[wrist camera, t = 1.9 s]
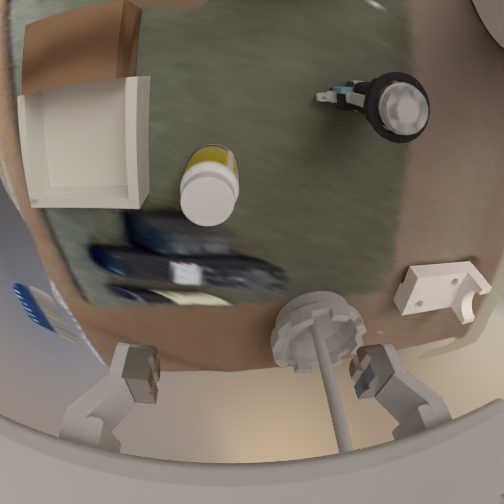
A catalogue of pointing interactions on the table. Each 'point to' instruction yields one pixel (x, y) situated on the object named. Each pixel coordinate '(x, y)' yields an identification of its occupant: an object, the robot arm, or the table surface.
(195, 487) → the robot arm
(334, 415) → the flag stand
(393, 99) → the push button
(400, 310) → the bracket
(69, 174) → the grey tray
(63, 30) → the walnut step
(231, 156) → the supplement bottle
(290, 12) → the table surface
